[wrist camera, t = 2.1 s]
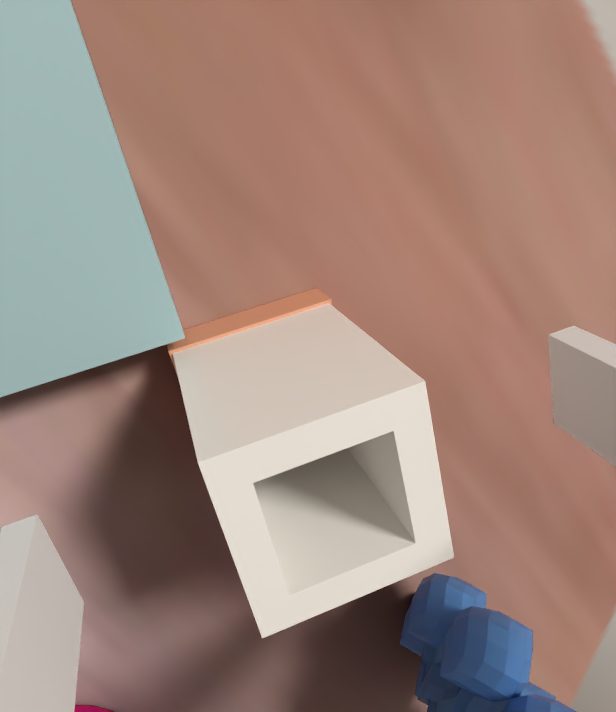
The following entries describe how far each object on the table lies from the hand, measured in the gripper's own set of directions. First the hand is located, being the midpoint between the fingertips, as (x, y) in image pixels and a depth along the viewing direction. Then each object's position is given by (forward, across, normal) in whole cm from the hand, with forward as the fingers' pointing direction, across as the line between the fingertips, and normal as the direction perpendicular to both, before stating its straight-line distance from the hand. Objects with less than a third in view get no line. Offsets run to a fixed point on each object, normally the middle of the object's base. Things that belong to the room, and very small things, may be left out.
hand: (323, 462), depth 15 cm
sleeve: (+6, 0, 0) cm, 6 cm away
